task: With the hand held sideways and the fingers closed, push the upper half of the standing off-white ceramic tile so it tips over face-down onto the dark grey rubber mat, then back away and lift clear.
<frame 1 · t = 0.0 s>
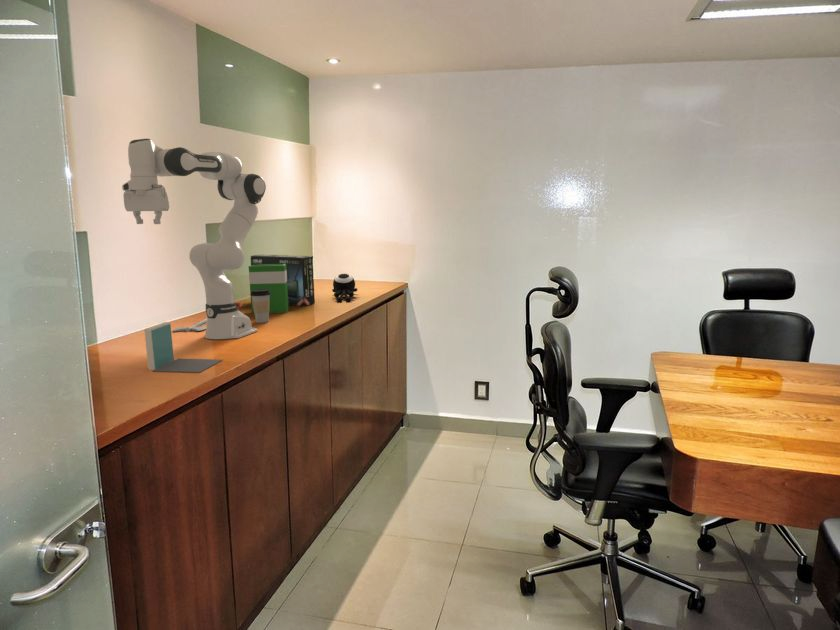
hand: (148, 224, 219), 48 cm above the cabinet, tool pointing down, fingers open, 8 cm apart
paint knife: (199, 327, 278), on the cabinet
green cereal box: (270, 311, 312), on the cabinet
ceramic tile: (162, 365, 210), on the cabinet
router box: (284, 303, 337), on the cabinet
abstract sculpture: (344, 298, 353), on the cabinet
rubber mat: (188, 365, 208), on the cabinet
coffee cup: (262, 322, 285), on the cabinet
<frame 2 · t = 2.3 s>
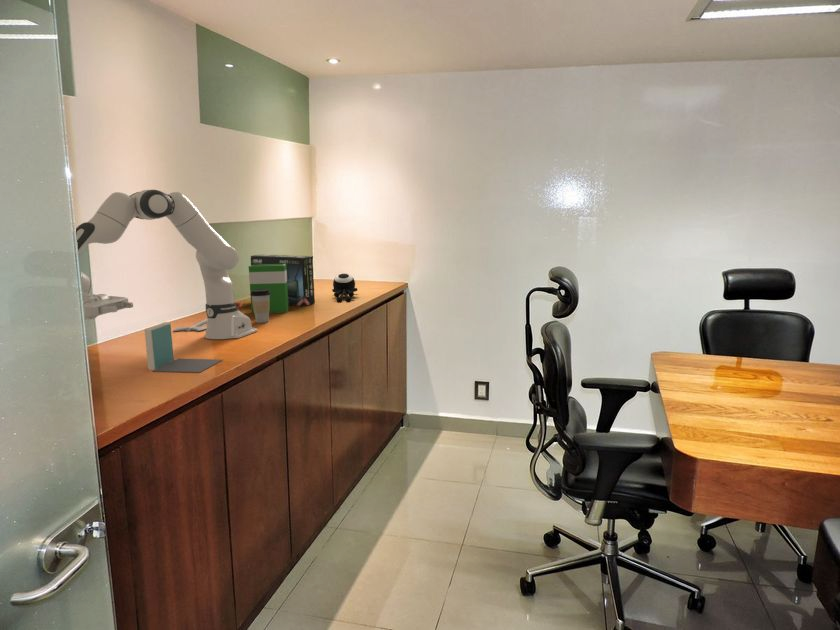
hand: (124, 307, 208), 20 cm above the cabinet, tool horizontal, fingers open, 7 cm apart
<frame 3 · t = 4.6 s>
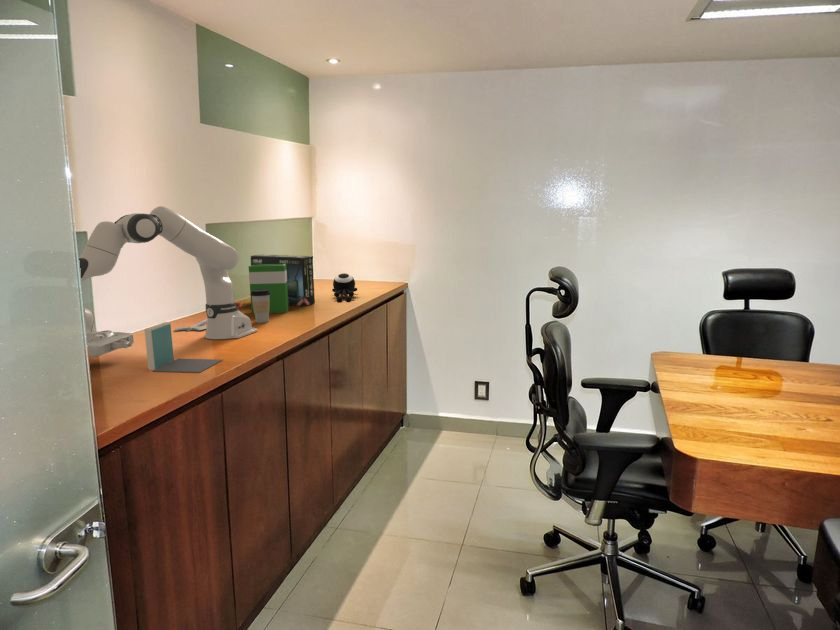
hand: (129, 344, 210), 7 cm above the cabinet, tool horizontal, fingers closed
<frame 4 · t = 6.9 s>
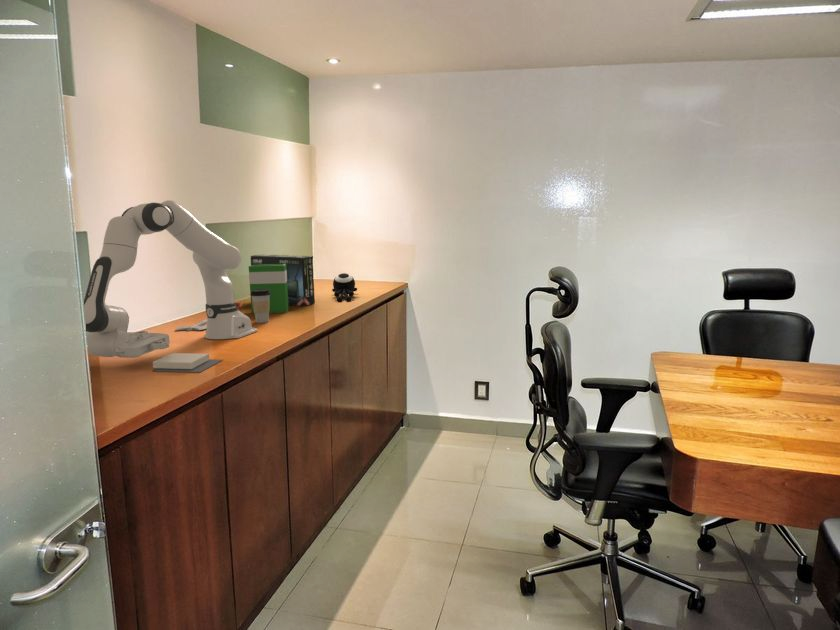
hand: (166, 345, 208), 7 cm above the cabinet, tool horizontal, fingers closed
ceramic tile: (162, 360, 209), point 2 cm above the cabinet, tilted 90°, touching rubber mat
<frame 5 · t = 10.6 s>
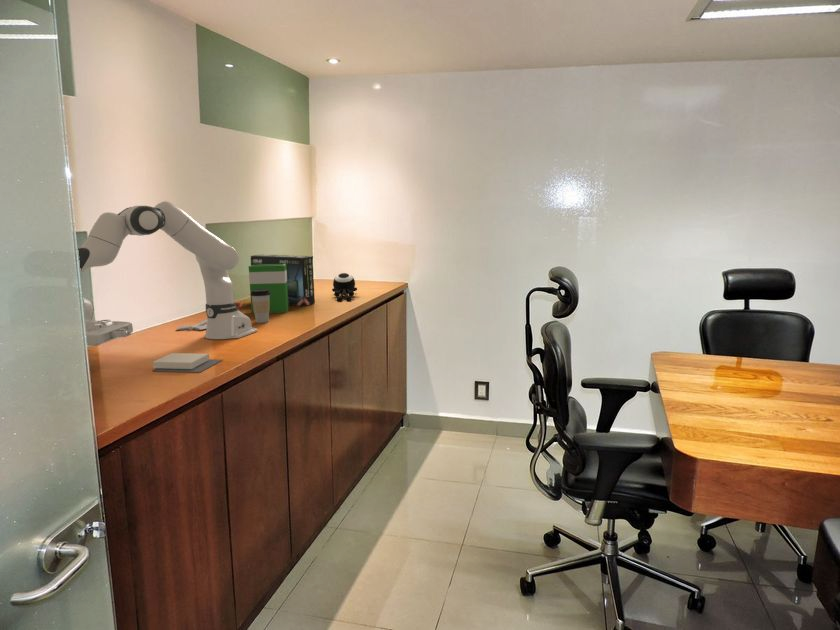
hand: (128, 333, 210), 11 cm above the cabinet, tool horizontal, fingers closed
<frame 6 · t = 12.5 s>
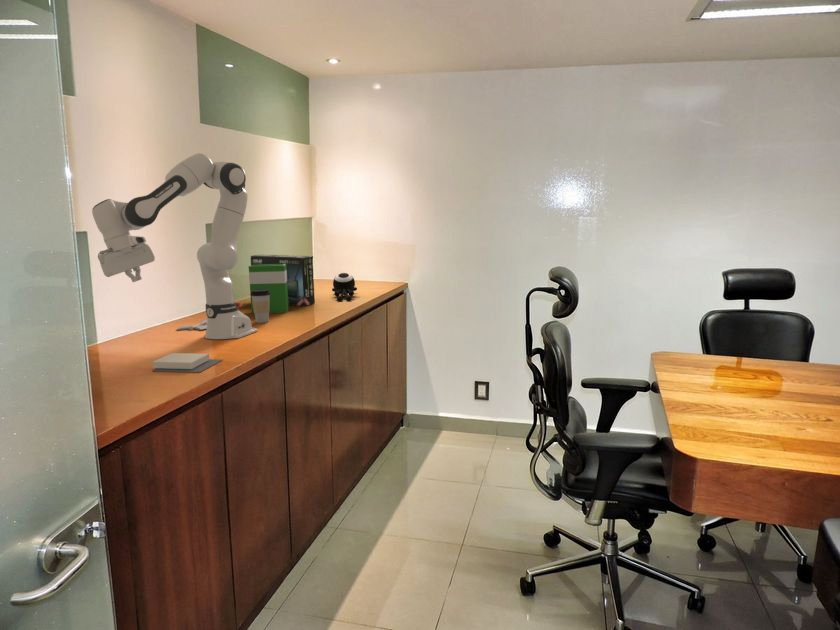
hand: (137, 280, 220), 28 cm above the cabinet, tool tilted 20°, fingers closed
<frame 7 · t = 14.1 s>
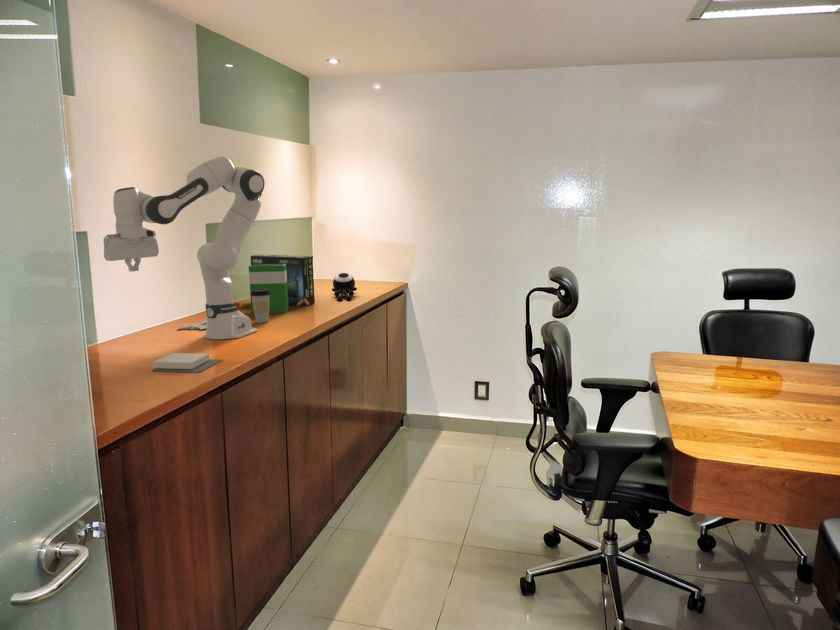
hand: (133, 271, 221), 31 cm above the cabinet, tool pointing down, fingers closed
at the end: ceramic tile tilted 90°; ceramic tile touching rubber mat; ceramic tile moved 1.6 cm from its start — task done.
